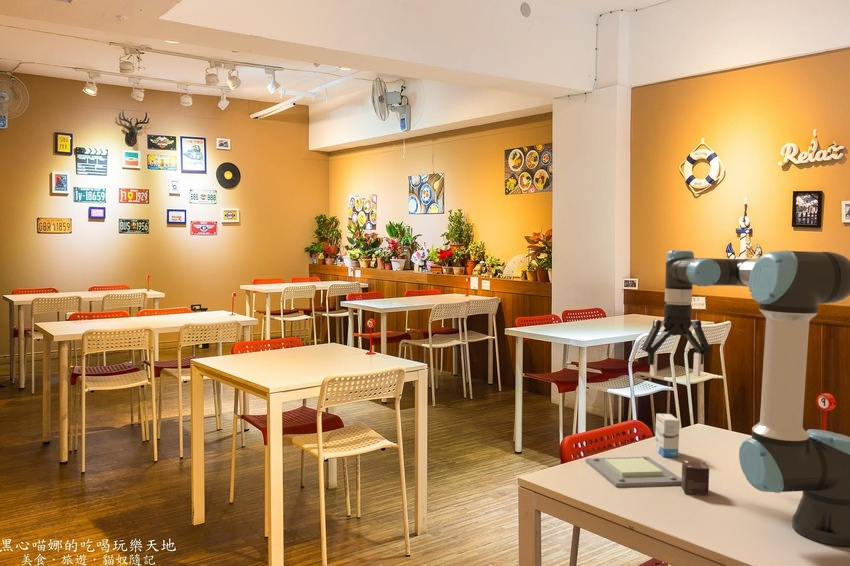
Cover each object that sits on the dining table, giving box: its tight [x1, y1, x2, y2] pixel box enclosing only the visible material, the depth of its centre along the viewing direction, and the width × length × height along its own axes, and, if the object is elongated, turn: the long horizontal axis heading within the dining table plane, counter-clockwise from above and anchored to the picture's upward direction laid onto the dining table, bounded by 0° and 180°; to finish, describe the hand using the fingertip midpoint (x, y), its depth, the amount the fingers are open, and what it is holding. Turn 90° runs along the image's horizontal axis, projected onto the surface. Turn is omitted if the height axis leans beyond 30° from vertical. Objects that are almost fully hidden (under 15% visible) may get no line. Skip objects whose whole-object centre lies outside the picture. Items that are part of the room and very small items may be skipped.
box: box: [680, 460, 710, 496], centre depth 189 cm, size 6×6×7 cm
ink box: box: [654, 413, 680, 458], centre depth 222 cm, size 8×5×12 cm, turn 179°
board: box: [584, 456, 682, 488], centre depth 203 cm, size 22×20×2 cm
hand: (674, 375), depth 207 cm, fingers open, 13 cm apart
